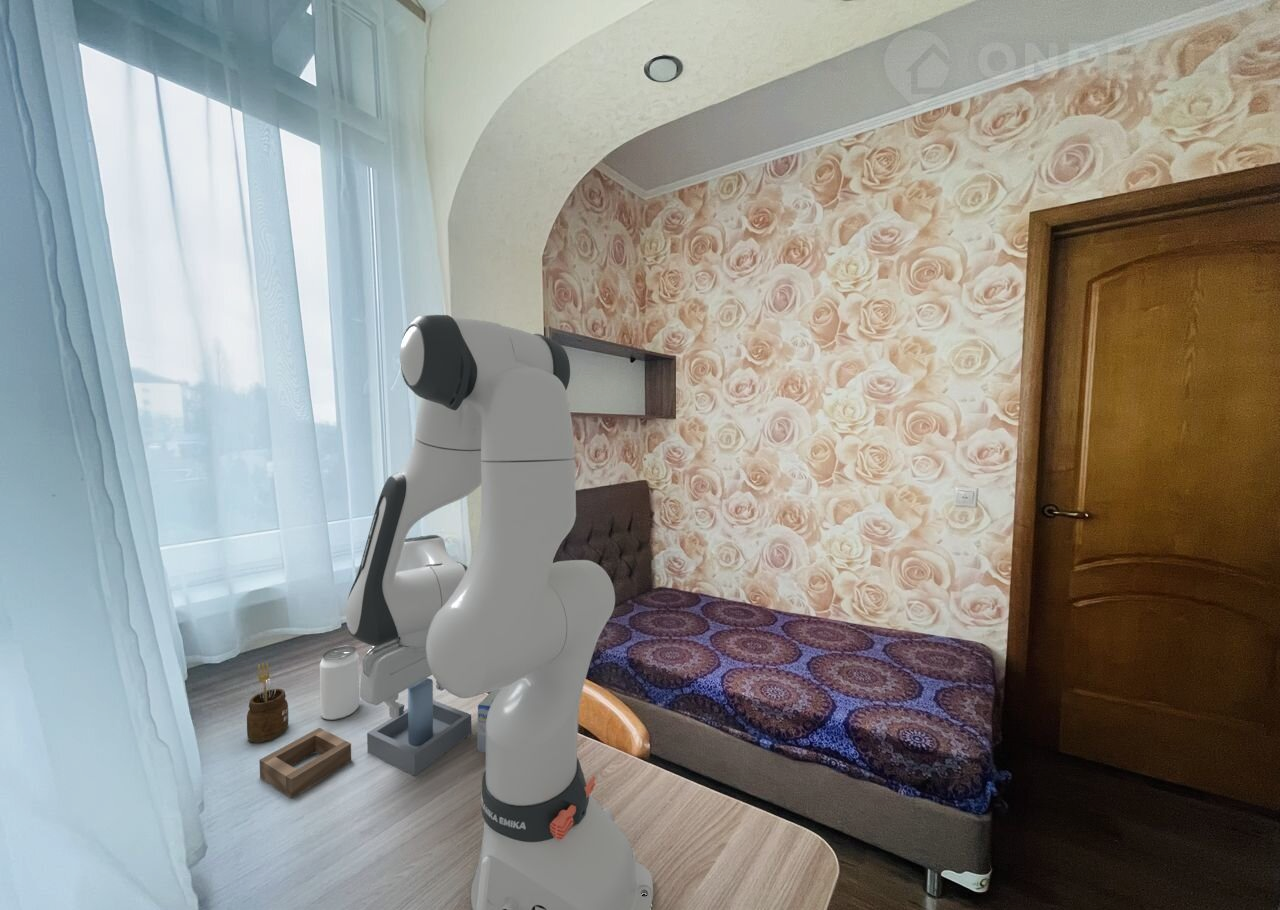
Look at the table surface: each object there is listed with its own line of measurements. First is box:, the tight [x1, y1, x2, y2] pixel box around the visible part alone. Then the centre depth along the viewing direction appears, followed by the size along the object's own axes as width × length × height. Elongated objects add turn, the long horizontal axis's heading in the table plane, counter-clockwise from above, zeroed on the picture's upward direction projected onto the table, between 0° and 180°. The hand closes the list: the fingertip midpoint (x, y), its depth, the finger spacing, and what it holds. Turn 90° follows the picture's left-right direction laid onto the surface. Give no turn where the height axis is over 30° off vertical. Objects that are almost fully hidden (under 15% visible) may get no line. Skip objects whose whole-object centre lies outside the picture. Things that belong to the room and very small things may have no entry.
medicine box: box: [477, 688, 501, 754], centre depth 83 cm, size 8×4×9 cm, turn 168°
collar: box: [259, 727, 352, 799], centre depth 75 cm, size 9×9×3 cm
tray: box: [366, 699, 472, 777], centre depth 82 cm, size 12×12×4 cm
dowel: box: [407, 677, 434, 746], centre depth 82 cm, size 4×4×10 cm
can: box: [319, 645, 360, 721], centre depth 91 cm, size 6×6×12 cm
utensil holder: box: [246, 661, 289, 744], centre depth 84 cm, size 6×6×12 cm
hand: (420, 701), depth 82 cm, fingers open, 8 cm apart
